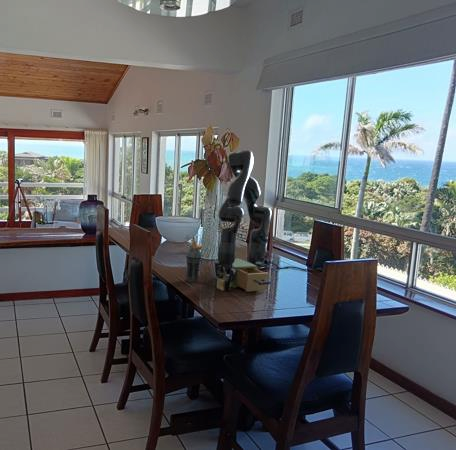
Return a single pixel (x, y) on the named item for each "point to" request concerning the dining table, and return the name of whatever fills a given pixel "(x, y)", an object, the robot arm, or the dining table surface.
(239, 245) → the dining table surface
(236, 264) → the cabinet
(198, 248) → the orange bird figurine
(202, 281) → the dining table surface
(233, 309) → the dining table surface
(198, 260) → the beverage cup
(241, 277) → the drawer
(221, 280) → the block
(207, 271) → the dining table surface
